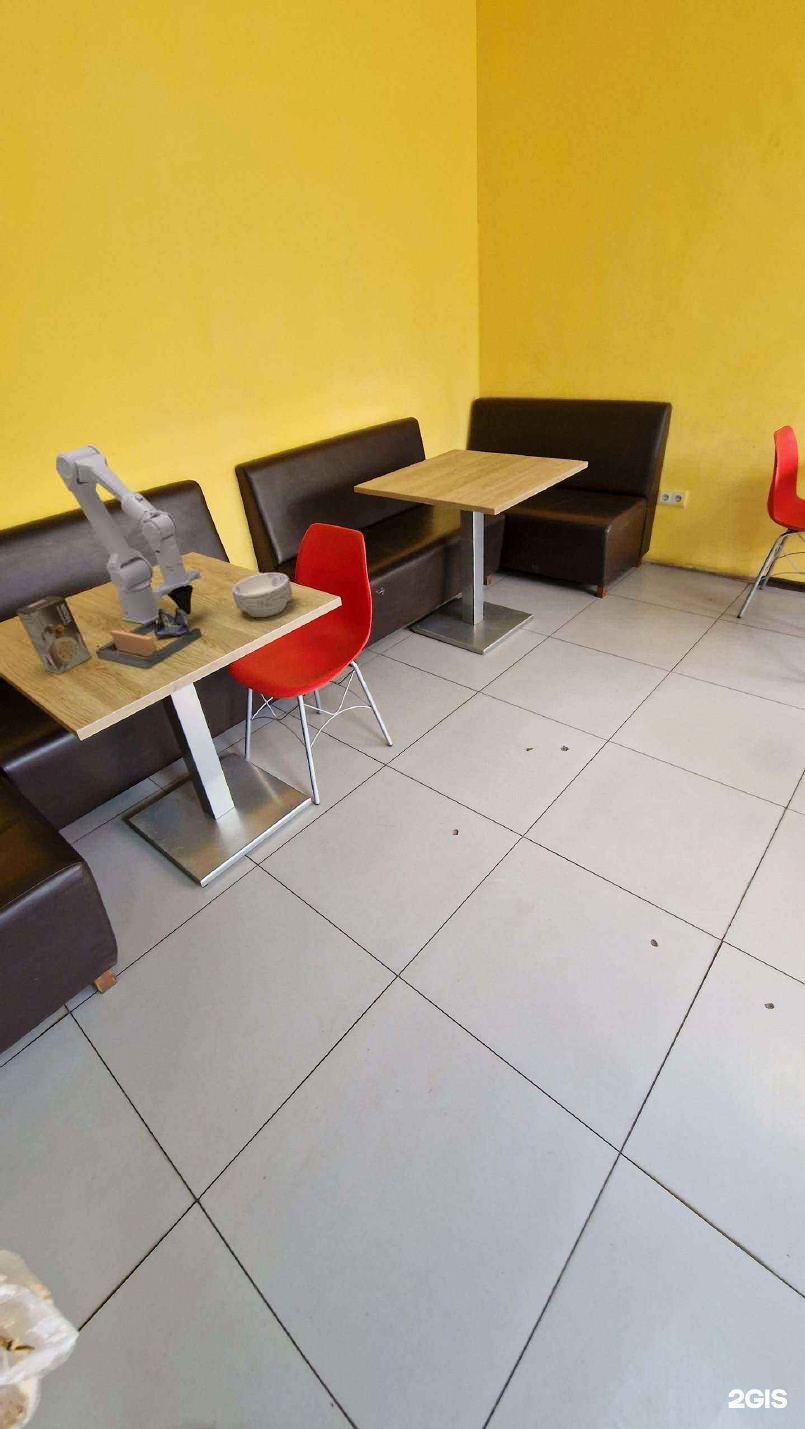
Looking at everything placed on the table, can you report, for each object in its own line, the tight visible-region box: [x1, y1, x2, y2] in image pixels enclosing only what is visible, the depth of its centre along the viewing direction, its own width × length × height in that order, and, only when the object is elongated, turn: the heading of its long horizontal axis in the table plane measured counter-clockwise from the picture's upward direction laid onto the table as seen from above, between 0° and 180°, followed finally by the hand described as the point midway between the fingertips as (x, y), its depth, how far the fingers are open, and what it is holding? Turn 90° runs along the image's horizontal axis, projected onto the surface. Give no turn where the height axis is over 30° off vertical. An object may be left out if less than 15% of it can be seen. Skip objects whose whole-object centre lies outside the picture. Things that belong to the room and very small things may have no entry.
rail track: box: [95, 619, 203, 670], centre depth 157 cm, size 18×18×2 cm
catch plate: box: [109, 629, 158, 657], centre depth 154 cm, size 14×1×5 cm, turn 61°
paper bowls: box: [231, 572, 293, 618], centre depth 167 cm, size 15×15×8 cm
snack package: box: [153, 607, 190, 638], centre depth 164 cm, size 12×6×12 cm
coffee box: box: [15, 595, 92, 675], centre depth 150 cm, size 9×6×16 cm
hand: (186, 613), depth 166 cm, fingers closed
